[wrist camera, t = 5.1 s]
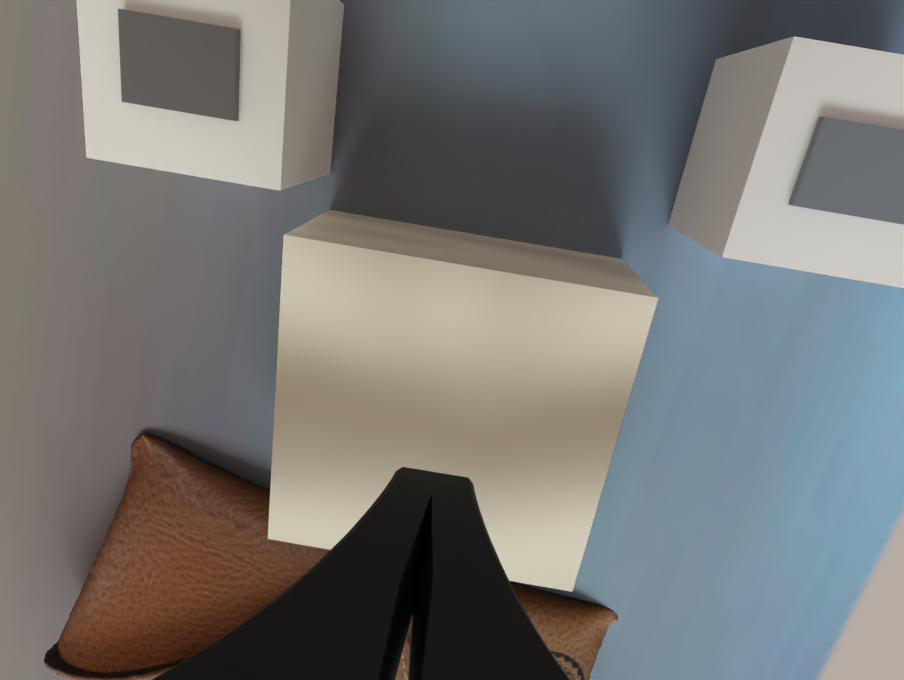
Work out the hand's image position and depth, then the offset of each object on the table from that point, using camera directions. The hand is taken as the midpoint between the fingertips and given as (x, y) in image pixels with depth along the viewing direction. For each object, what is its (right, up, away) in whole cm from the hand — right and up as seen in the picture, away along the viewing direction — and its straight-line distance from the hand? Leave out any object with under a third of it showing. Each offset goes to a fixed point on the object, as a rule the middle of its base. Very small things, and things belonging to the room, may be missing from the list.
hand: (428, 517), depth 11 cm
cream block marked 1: (+8, +8, +4) cm, 12 cm away
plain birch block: (0, +3, +7) cm, 7 cm away
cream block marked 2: (-4, +10, +4) cm, 12 cm away
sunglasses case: (-3, -6, +11) cm, 13 cm away
